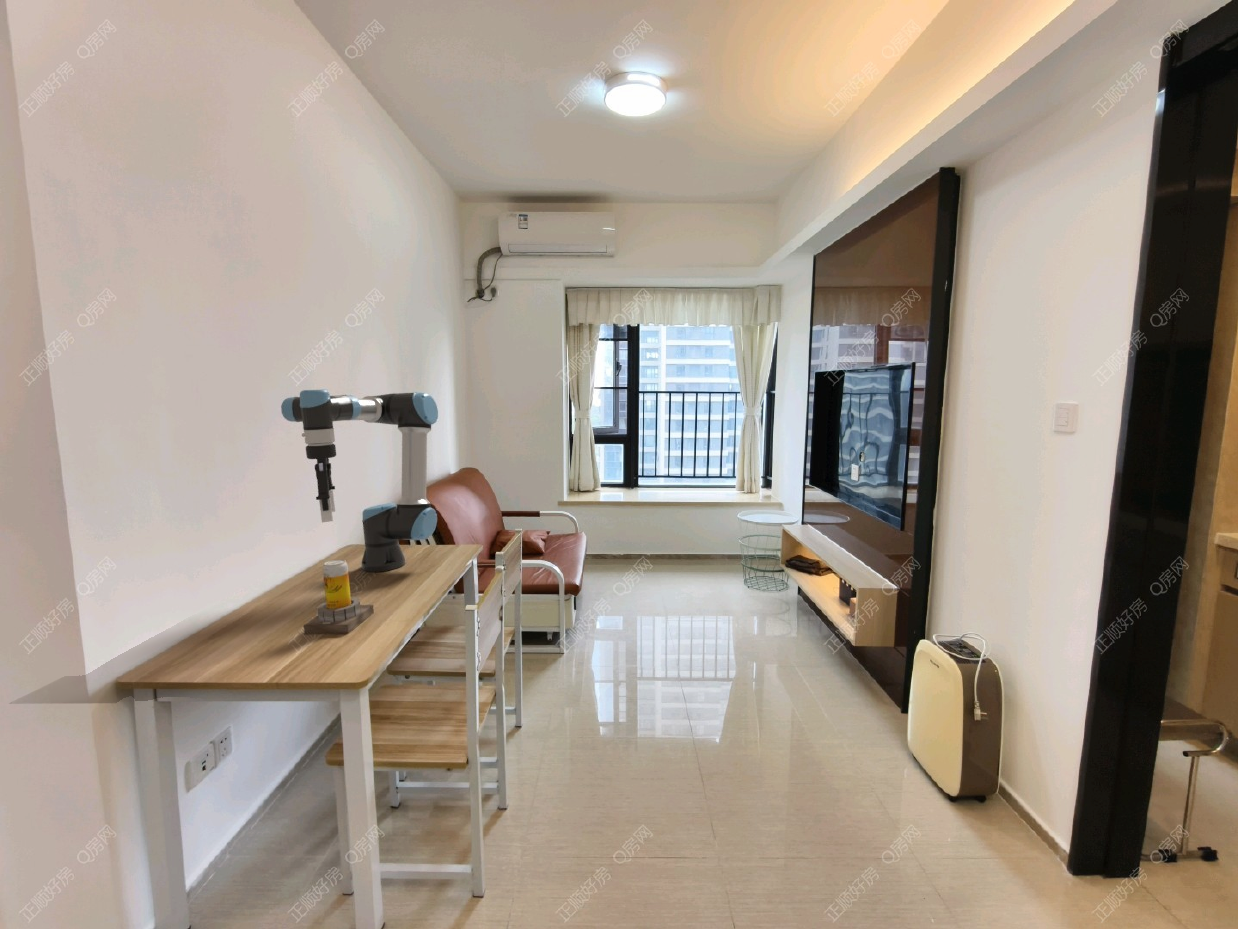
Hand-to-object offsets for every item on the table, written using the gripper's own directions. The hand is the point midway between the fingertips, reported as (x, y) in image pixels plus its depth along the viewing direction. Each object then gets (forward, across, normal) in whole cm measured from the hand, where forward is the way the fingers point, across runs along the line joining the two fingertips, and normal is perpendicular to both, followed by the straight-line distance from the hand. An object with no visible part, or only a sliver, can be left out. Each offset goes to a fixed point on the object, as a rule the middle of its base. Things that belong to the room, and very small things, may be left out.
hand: (328, 516), depth 160 cm
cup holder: (+28, +12, +1) cm, 31 cm away
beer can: (+26, +12, +1) cm, 28 cm away
